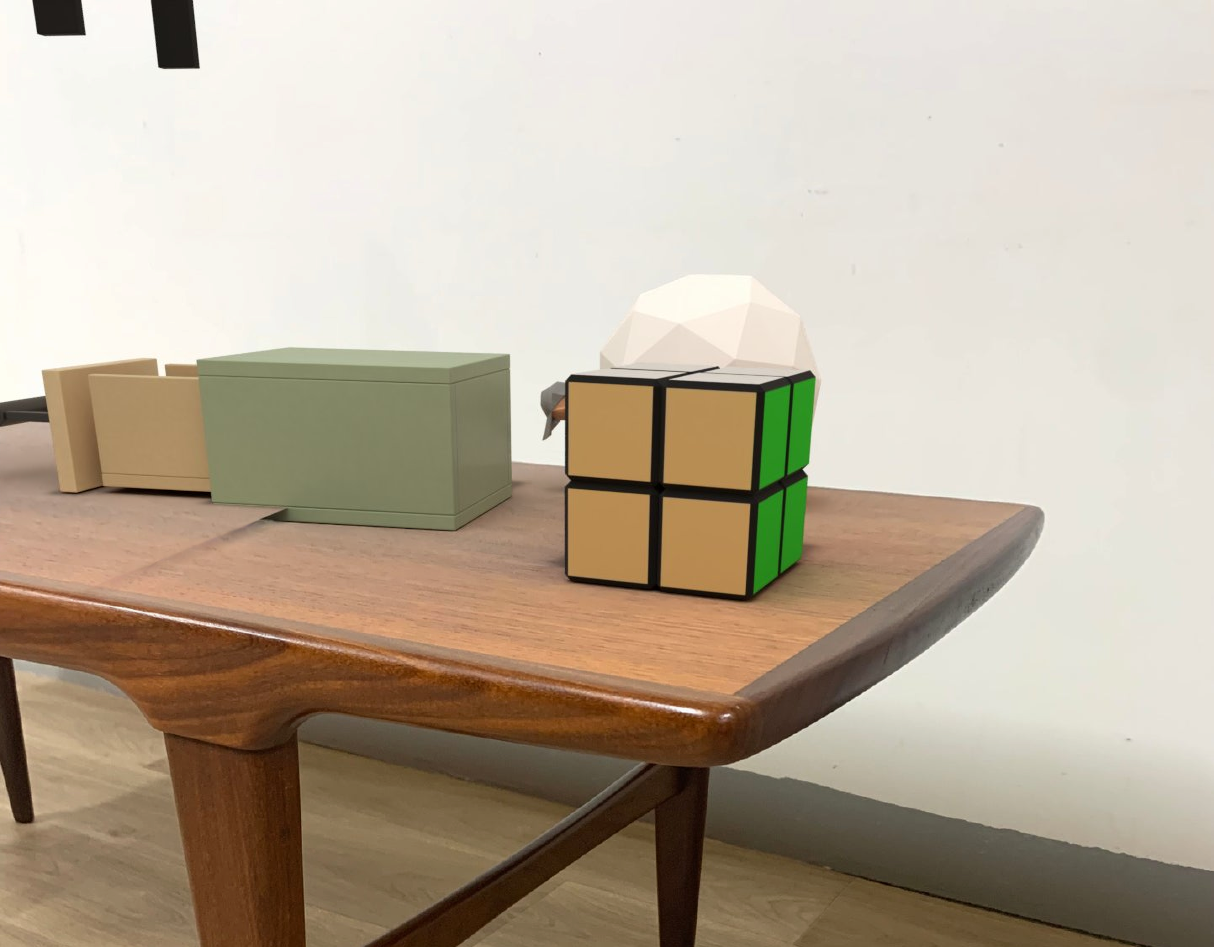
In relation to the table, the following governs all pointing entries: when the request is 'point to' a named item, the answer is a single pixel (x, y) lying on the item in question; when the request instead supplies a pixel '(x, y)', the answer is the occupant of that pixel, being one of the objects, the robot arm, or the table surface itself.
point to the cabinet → (359, 434)
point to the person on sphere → (702, 332)
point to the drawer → (121, 425)
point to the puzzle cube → (686, 476)
